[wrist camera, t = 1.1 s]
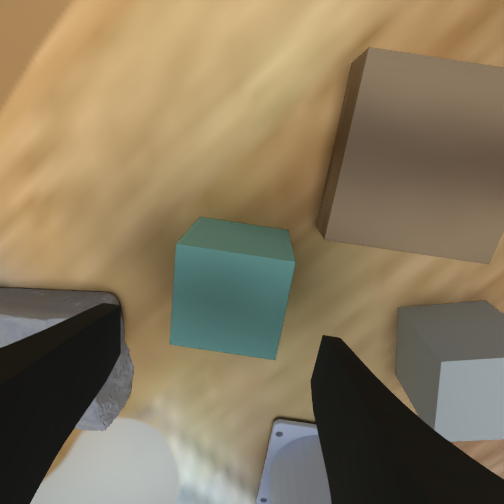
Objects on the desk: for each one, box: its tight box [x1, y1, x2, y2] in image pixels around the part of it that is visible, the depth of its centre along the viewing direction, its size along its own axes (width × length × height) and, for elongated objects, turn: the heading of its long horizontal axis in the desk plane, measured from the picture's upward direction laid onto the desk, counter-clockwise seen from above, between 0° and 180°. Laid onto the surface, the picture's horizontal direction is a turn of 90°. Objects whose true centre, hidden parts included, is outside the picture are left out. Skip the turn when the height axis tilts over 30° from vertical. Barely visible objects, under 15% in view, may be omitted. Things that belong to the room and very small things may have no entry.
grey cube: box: [396, 301, 504, 442], centre depth 17 cm, size 5×5×5 cm
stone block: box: [0, 288, 134, 431], centre depth 20 cm, size 12×5×10 cm
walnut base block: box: [316, 47, 504, 264], centre depth 15 cm, size 8×8×3 cm
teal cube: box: [170, 217, 295, 360], centre depth 16 cm, size 5×5×5 cm
